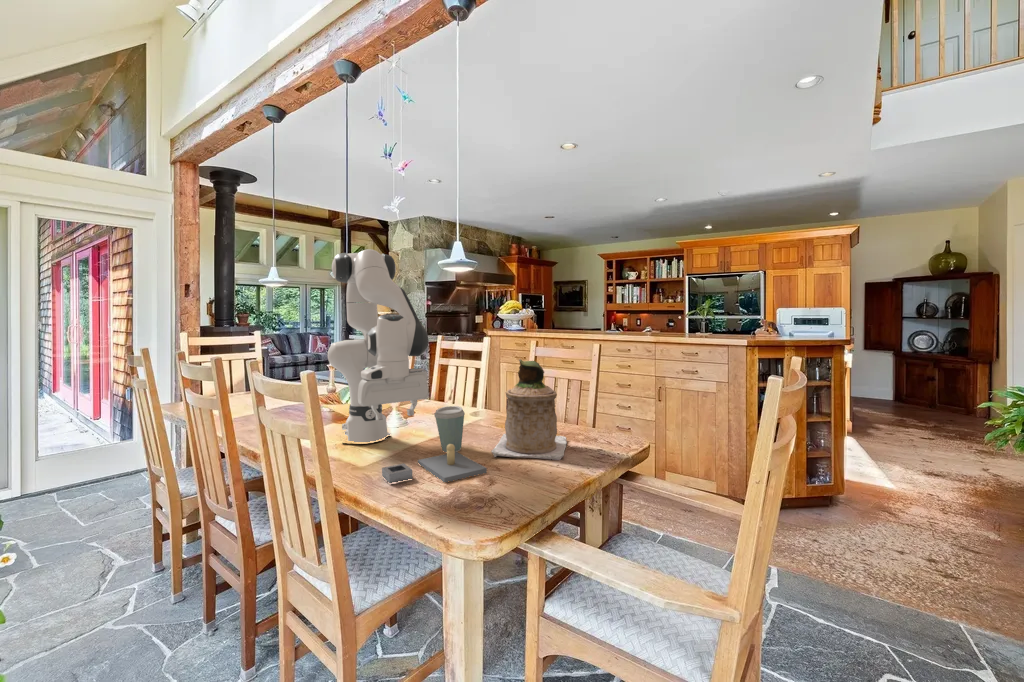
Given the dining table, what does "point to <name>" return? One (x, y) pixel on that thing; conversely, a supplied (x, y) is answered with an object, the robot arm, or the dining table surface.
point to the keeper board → (452, 465)
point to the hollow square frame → (397, 473)
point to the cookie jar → (531, 418)
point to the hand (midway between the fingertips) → (395, 417)
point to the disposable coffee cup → (450, 426)
